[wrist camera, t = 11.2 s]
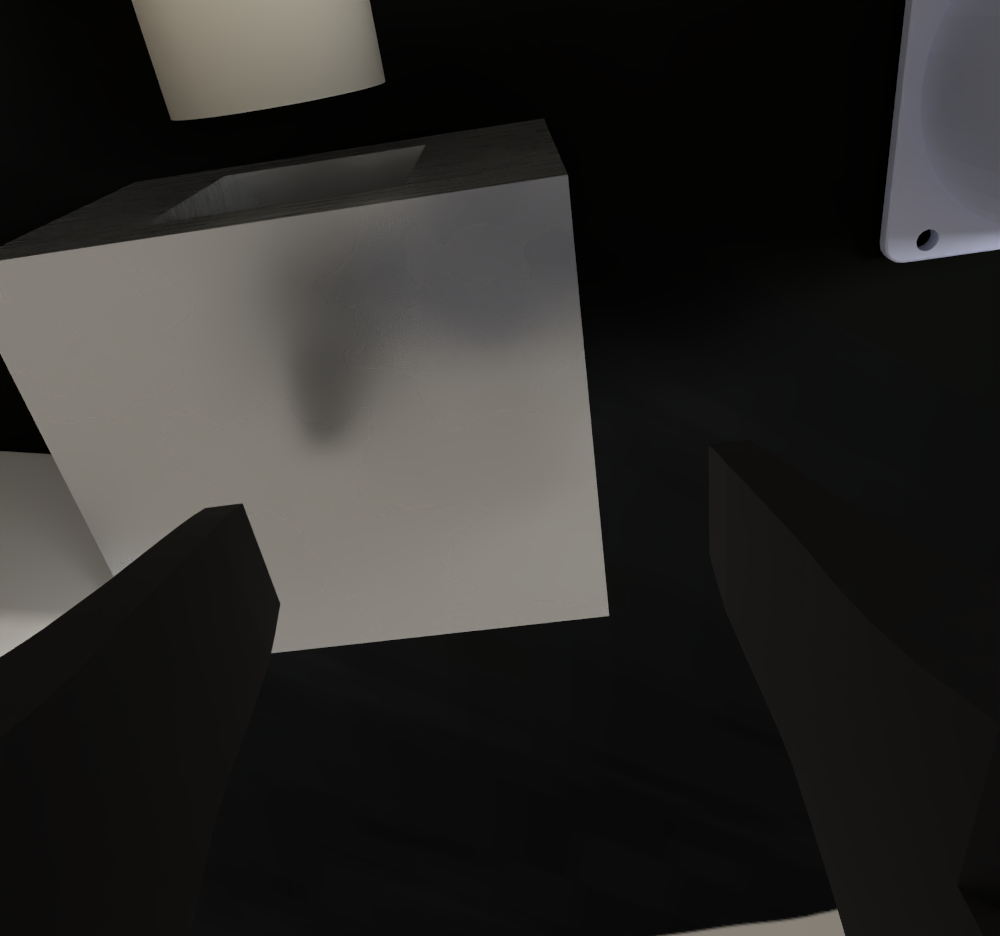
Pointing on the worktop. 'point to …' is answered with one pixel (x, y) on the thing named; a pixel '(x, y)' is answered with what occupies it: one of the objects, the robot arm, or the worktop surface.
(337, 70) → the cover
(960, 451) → the worktop surface
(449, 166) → the block
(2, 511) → the medicine bottle
